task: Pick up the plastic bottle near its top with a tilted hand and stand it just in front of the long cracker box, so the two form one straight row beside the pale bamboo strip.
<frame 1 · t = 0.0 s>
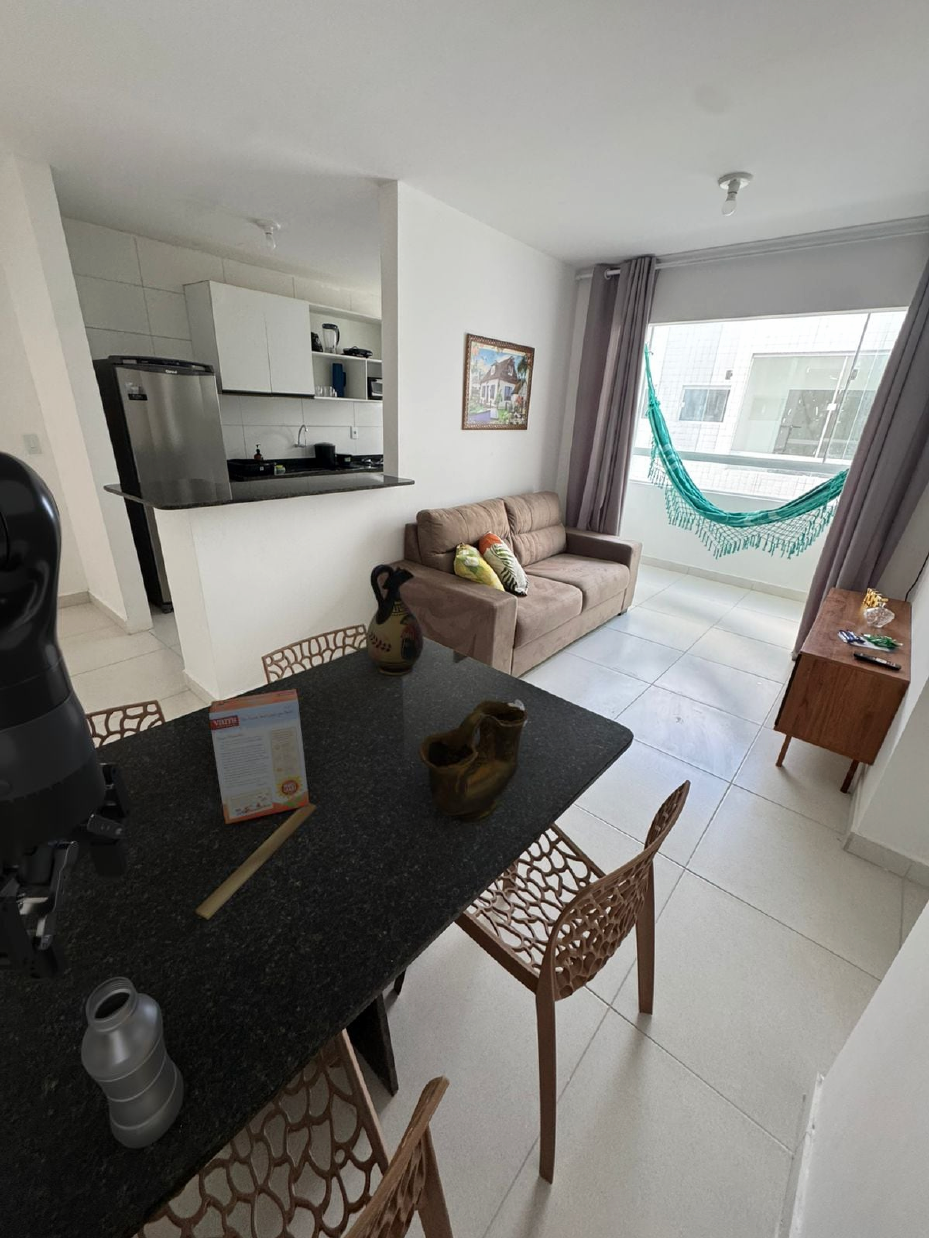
hand: (84, 918, 41), 30 cm above the table, tool pointing down, fingers open, 8 cm apart
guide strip: (263, 854, 83), on the table
plastic bottle: (153, 1115, 53), on the table
muffin: (246, 748, 107), on the table
elephant figurine: (510, 726, 120), on the table
pottery vessel: (470, 803, 97), on the table
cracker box: (268, 807, 92), on the table
ceramic jug: (392, 668, 142), on the table
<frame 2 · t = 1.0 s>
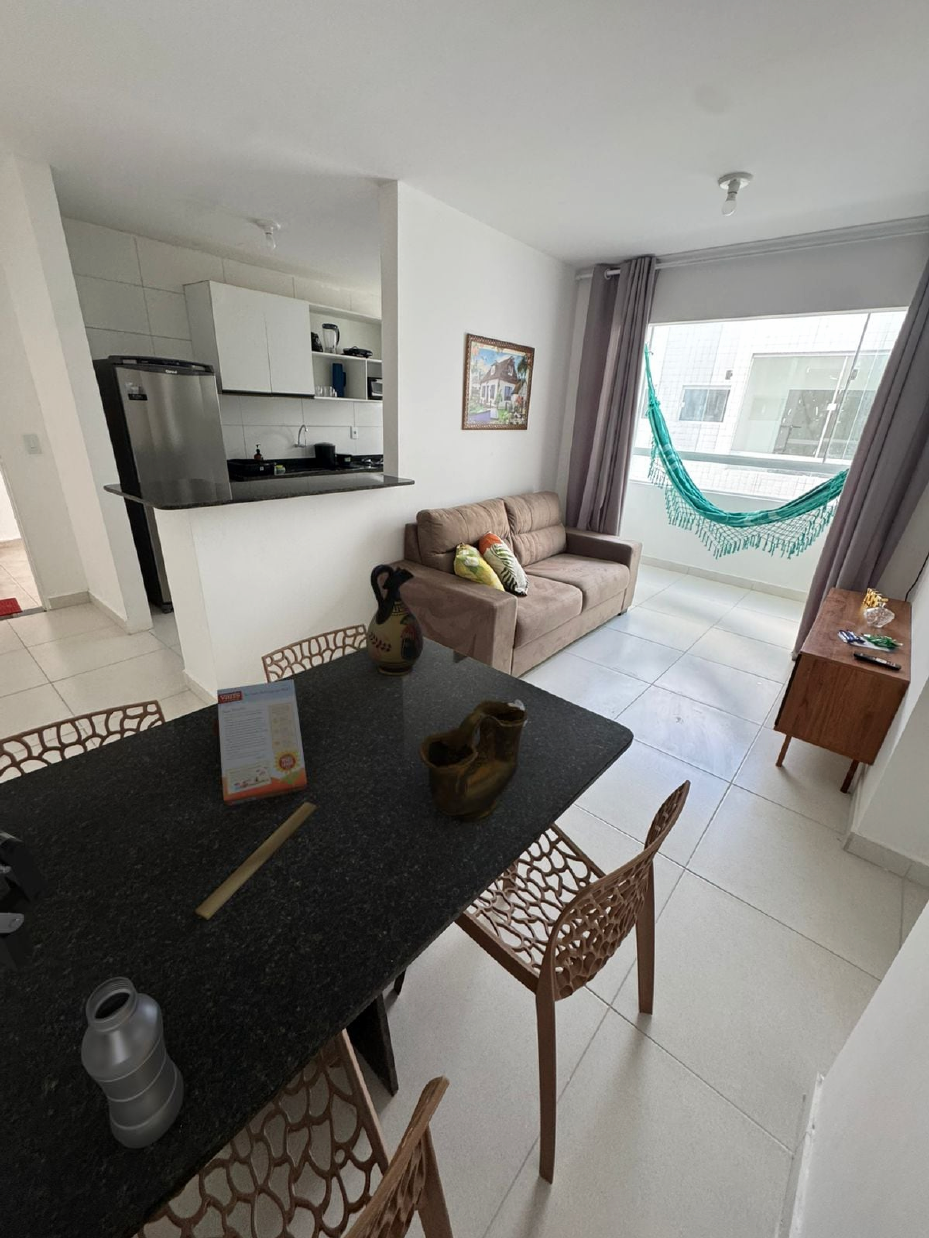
muffin: (246, 748, 107), on the table, touching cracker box
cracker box: (267, 796, 92), point 2 cm above the table, touching muffin
everything else where it was.
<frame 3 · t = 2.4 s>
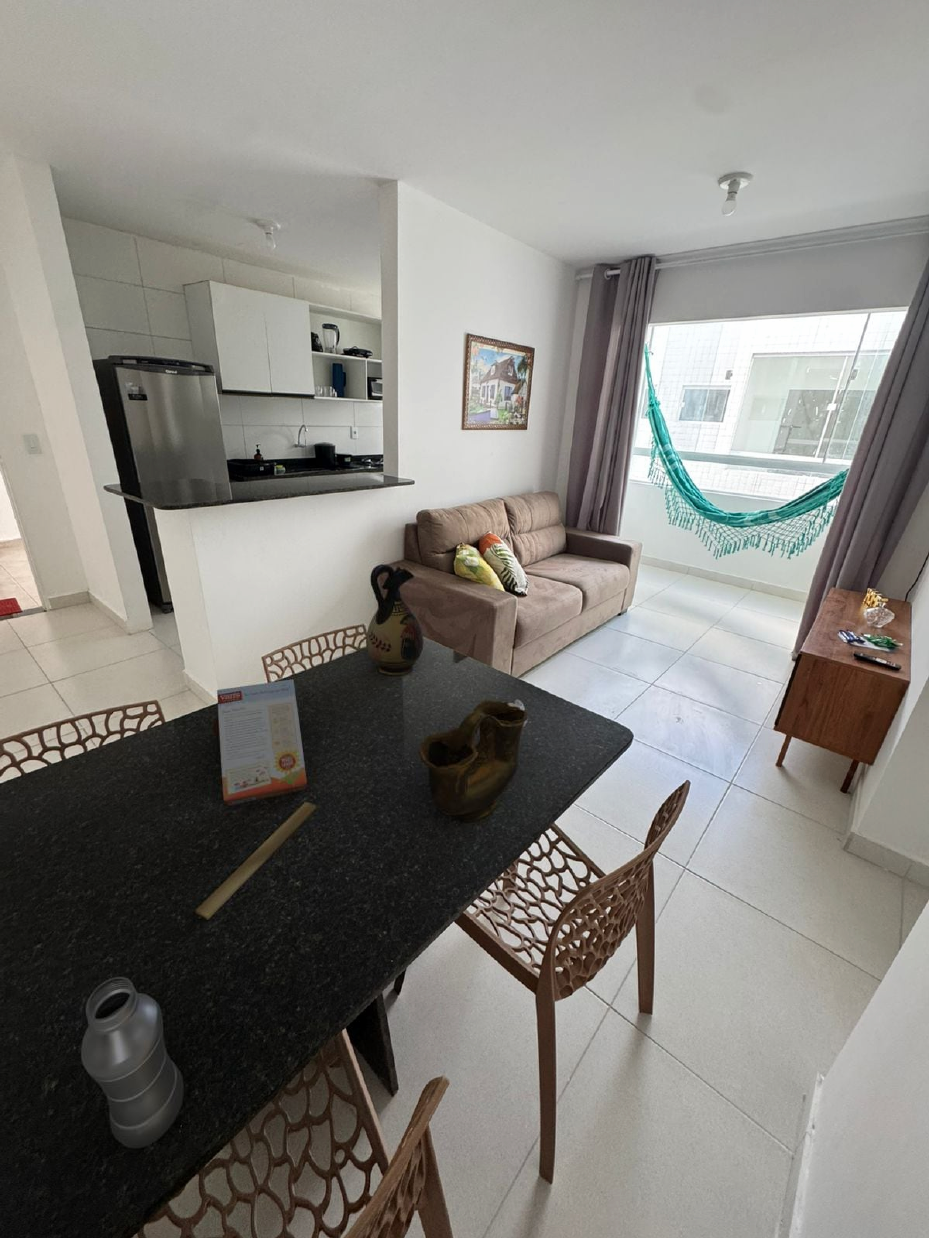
nothing on the table moved.
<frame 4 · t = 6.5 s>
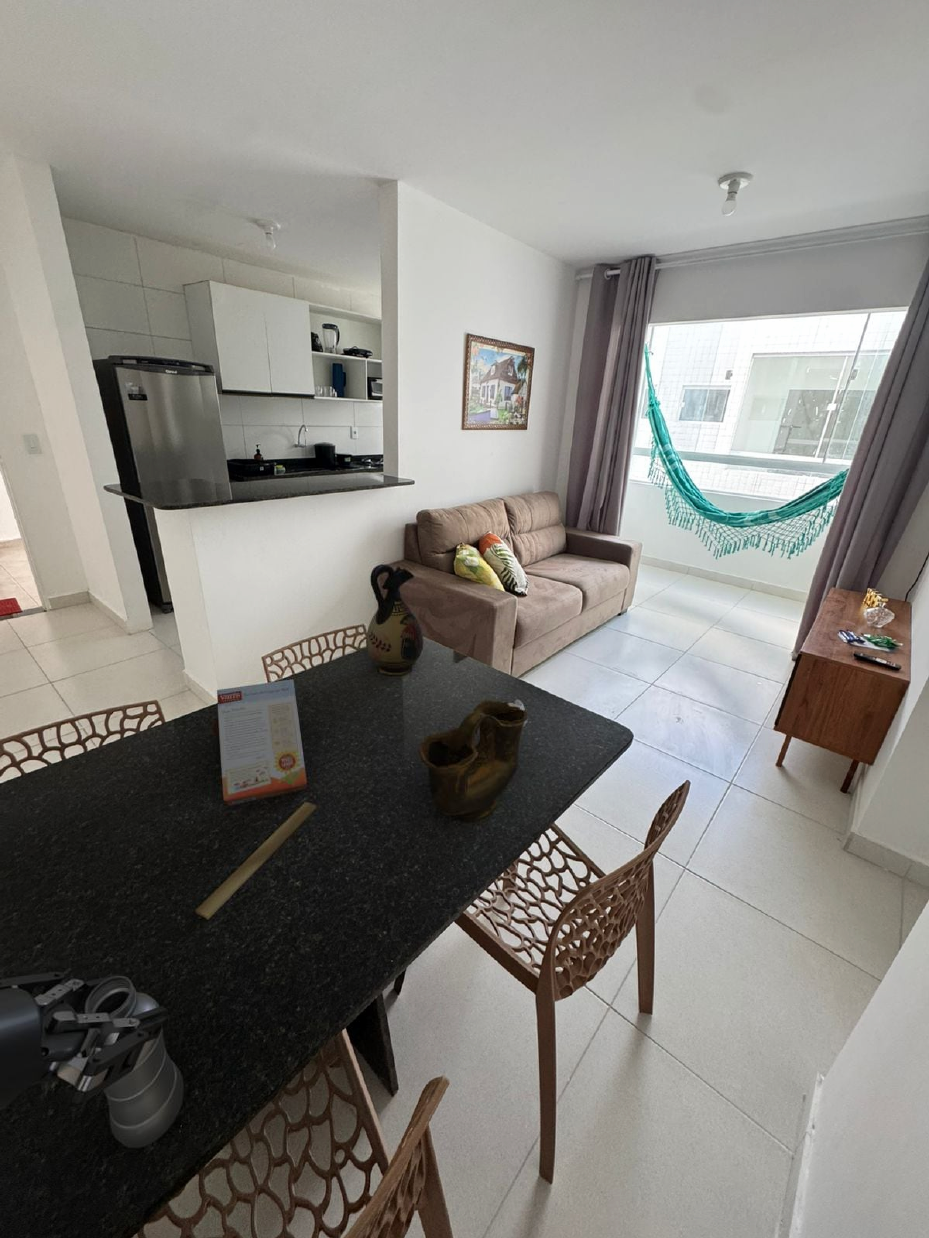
hand: (136, 1003, 48), 16 cm above the table, tool tilted 45°, fingers closed on plastic bottle, 6 cm apart
plastic bottle: (153, 1115, 53), on the table, touching gripper
everything else where it was.
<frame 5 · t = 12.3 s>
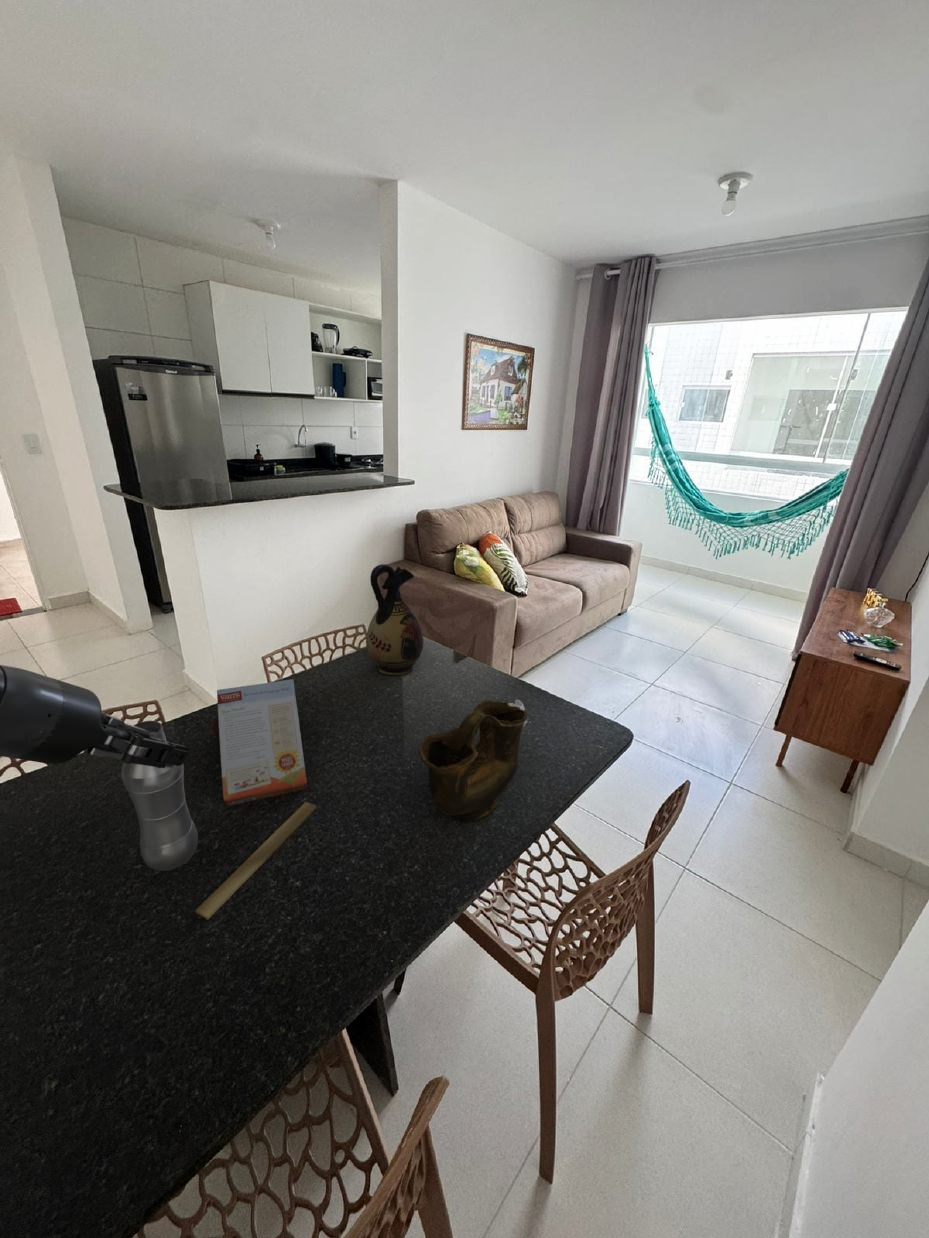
hand: (164, 747, 61), 30 cm above the table, tool tilted 45°, fingers closed on plastic bottle, 6 cm apart
plastic bottle: (173, 857, 66), point 13 cm above the table, touching gripper
everything else where it was.
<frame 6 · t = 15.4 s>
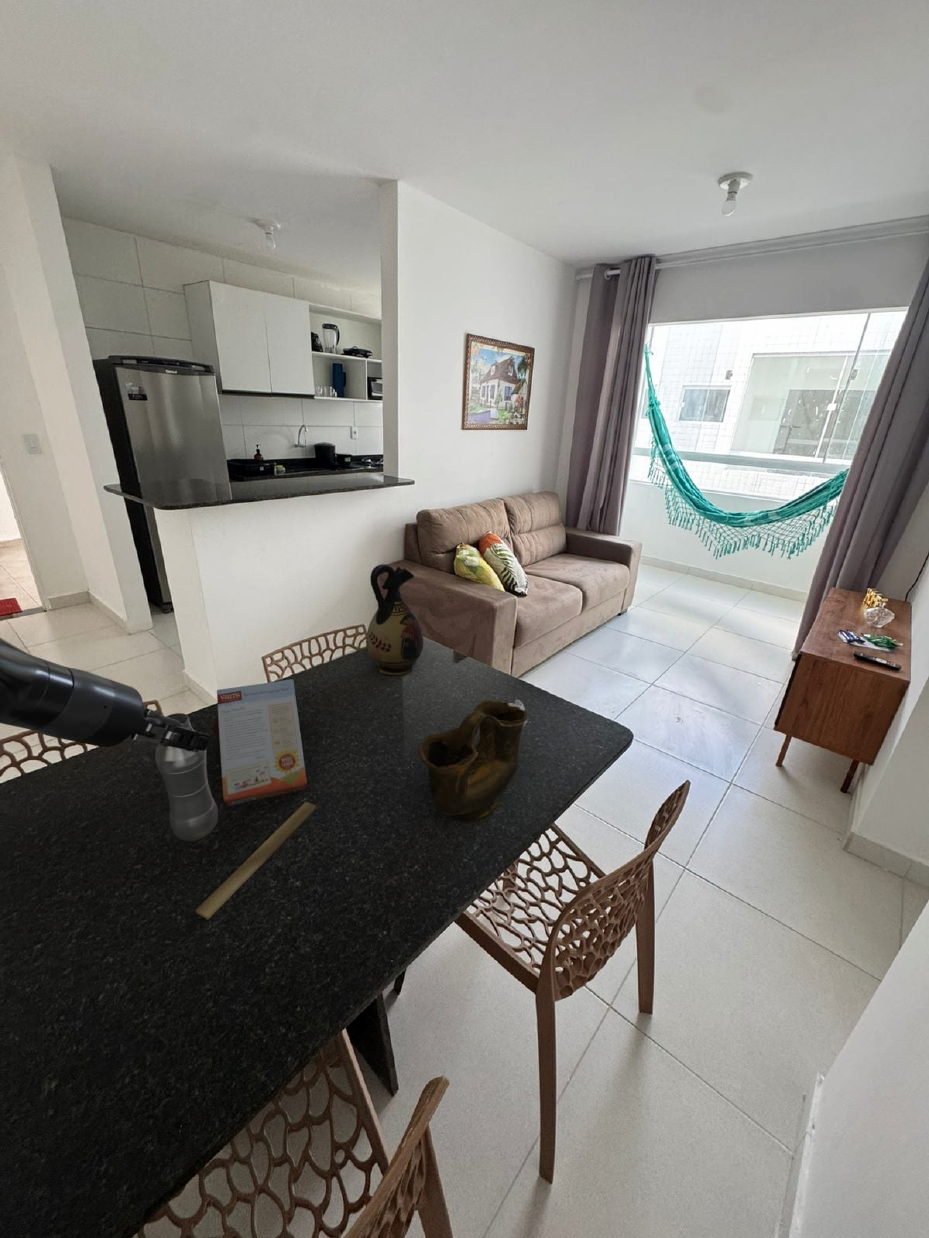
hand: (189, 736, 73), 24 cm above the table, tool tilted 45°, fingers closed on plastic bottle, 6 cm apart
plastic bottle: (197, 831, 78), point 7 cm above the table, touching gripper
everything else where it was.
when the fingers open (16 cm above the table, at t = 18.0 s): plastic bottle stays where it is, on the table.
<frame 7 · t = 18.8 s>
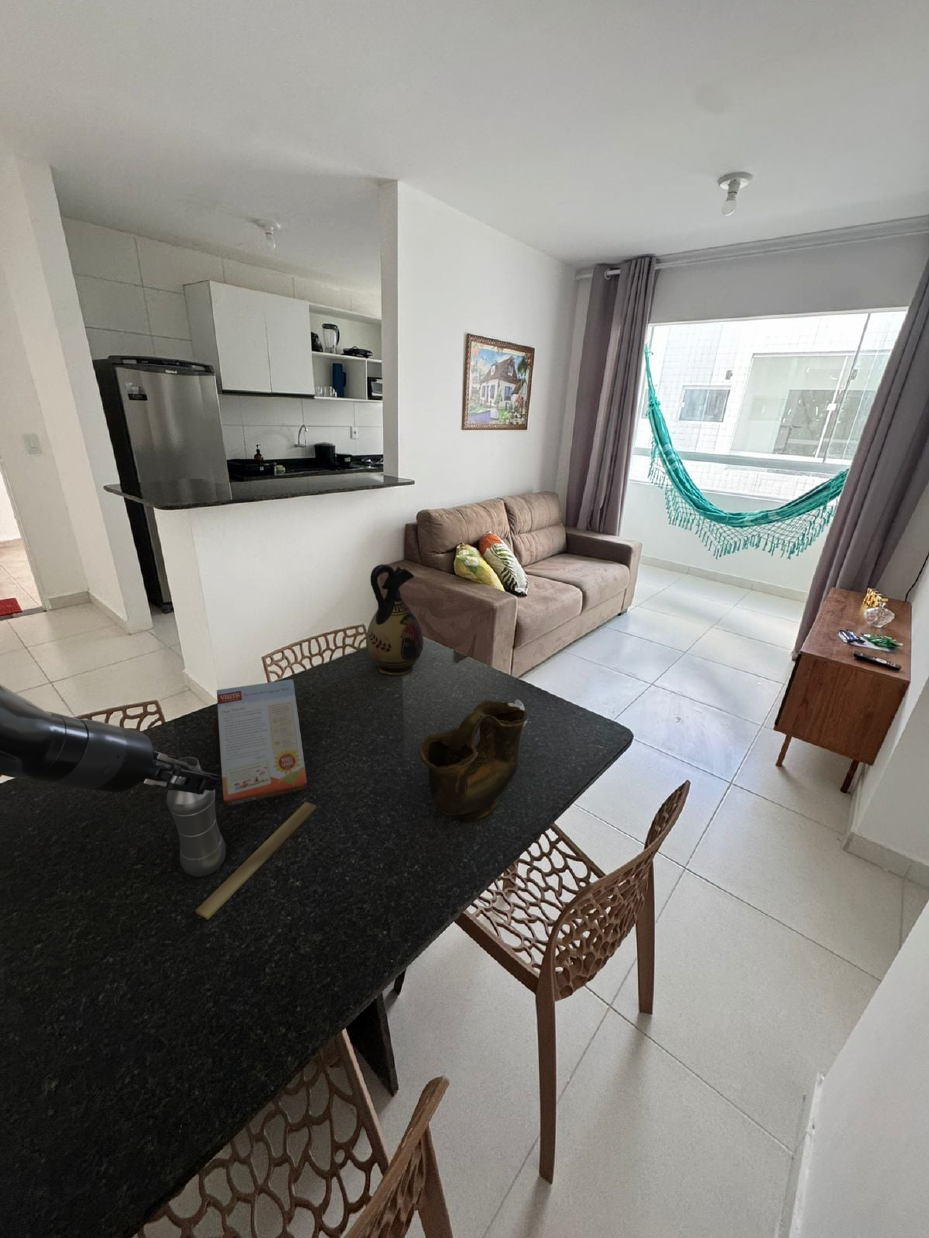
hand: (194, 773, 75), 18 cm above the table, tool tilted 45°, fingers open, 8 cm apart
plastic bottle: (206, 866, 81), on the table
everything else where it was.
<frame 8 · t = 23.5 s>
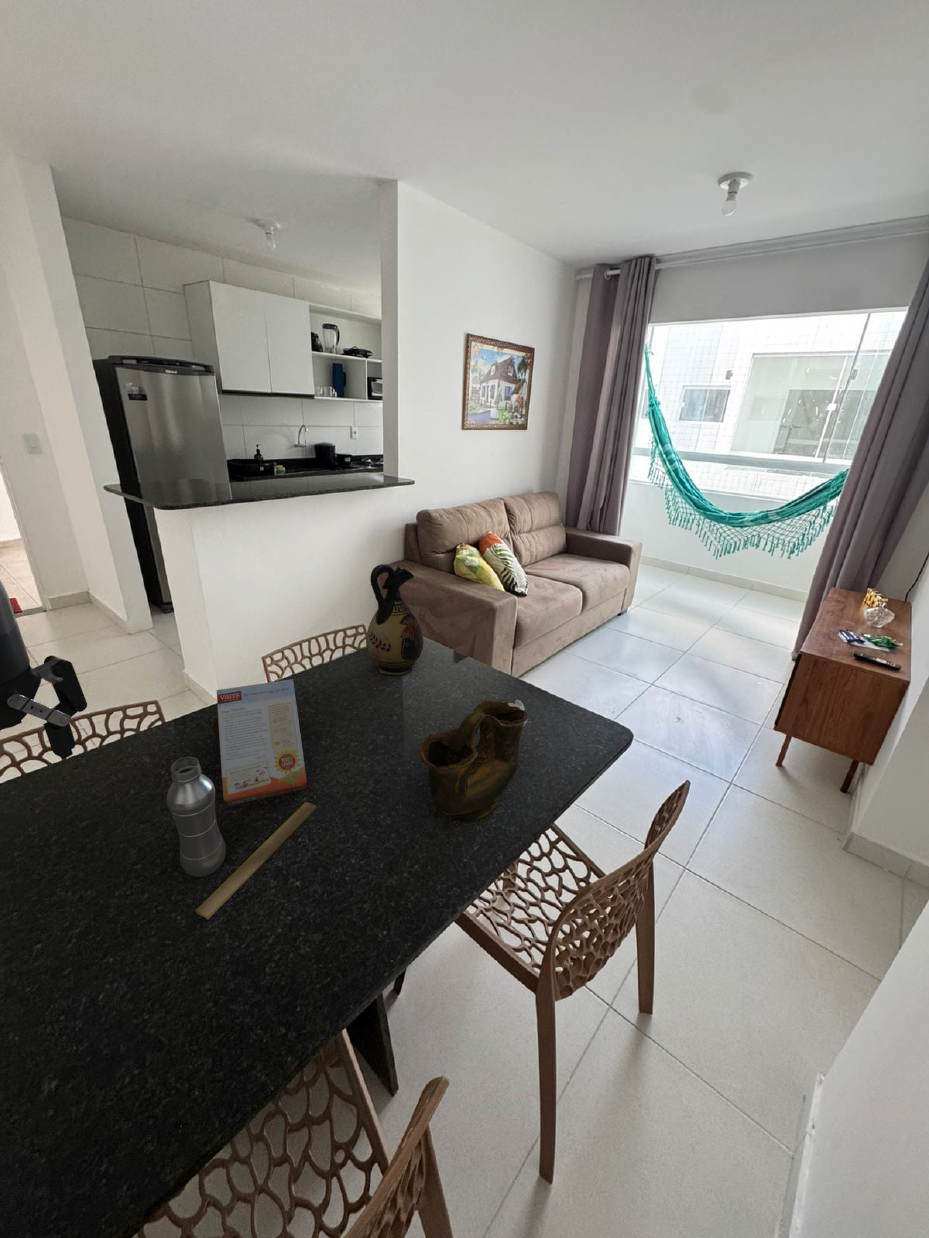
hand: (16, 780, 49), 34 cm above the table, tool pointing down, fingers open, 8 cm apart
nothing on the table moved.
at the end: plastic bottle inside the target area on the table beside the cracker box (1.1 cm from its centre), on the table; plastic bottle tilted 0°; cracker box moved 2.2 cm from its start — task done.
